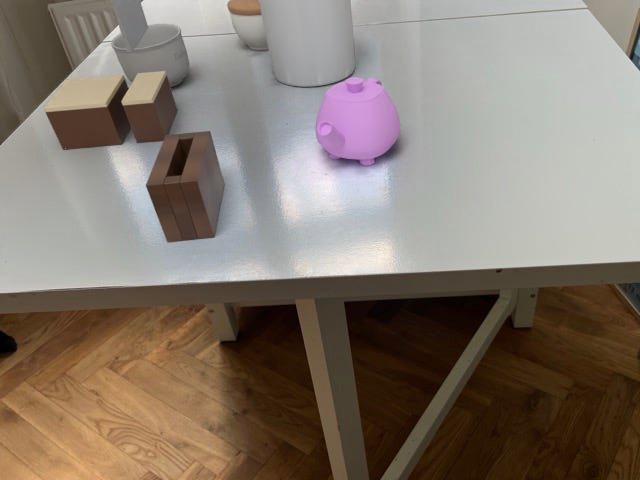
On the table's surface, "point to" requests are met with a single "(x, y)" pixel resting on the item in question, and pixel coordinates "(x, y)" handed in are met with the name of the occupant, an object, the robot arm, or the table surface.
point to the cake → (89, 112)
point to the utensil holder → (309, 40)
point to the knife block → (187, 186)
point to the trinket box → (248, 23)
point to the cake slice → (150, 106)
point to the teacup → (155, 53)
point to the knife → (130, 21)
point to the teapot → (357, 120)
